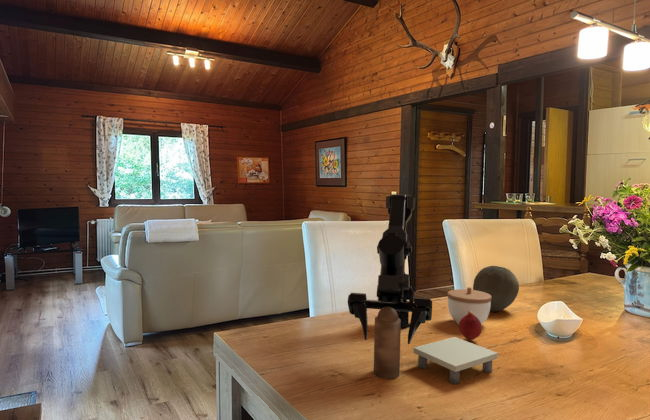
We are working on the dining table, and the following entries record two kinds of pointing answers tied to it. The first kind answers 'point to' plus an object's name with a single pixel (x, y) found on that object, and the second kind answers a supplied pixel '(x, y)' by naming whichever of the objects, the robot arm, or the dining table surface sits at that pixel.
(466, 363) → the shelf
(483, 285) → the grey sphere
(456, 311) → the lidded bowl
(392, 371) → the mill
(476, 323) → the onion
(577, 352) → the dining table surface
